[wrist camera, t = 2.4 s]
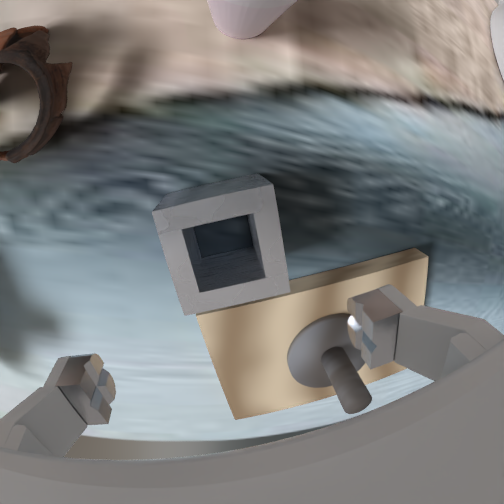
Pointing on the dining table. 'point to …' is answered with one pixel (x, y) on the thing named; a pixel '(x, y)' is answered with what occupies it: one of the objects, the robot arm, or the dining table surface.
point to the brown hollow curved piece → (46, 78)
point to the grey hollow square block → (229, 263)
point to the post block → (305, 338)
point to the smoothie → (246, 15)
